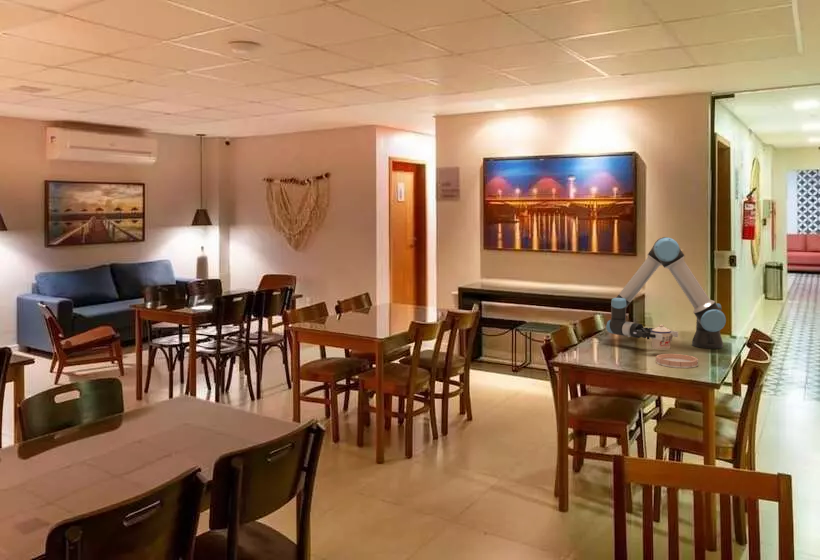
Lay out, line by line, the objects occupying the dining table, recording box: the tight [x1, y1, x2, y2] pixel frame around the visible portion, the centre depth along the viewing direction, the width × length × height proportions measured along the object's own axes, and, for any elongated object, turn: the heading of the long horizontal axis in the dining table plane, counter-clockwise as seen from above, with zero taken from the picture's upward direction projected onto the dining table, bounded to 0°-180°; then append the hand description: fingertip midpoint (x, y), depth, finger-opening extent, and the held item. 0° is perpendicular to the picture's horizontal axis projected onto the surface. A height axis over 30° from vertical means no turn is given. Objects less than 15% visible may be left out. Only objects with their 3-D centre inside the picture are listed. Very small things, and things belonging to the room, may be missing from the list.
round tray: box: [655, 353, 699, 369], centre depth 313 cm, size 18×18×3 cm
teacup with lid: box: [651, 324, 674, 350], centre depth 332 cm, size 12×9×12 cm
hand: (670, 335), depth 329 cm, fingers closed on teacup with lid, 12 cm apart
